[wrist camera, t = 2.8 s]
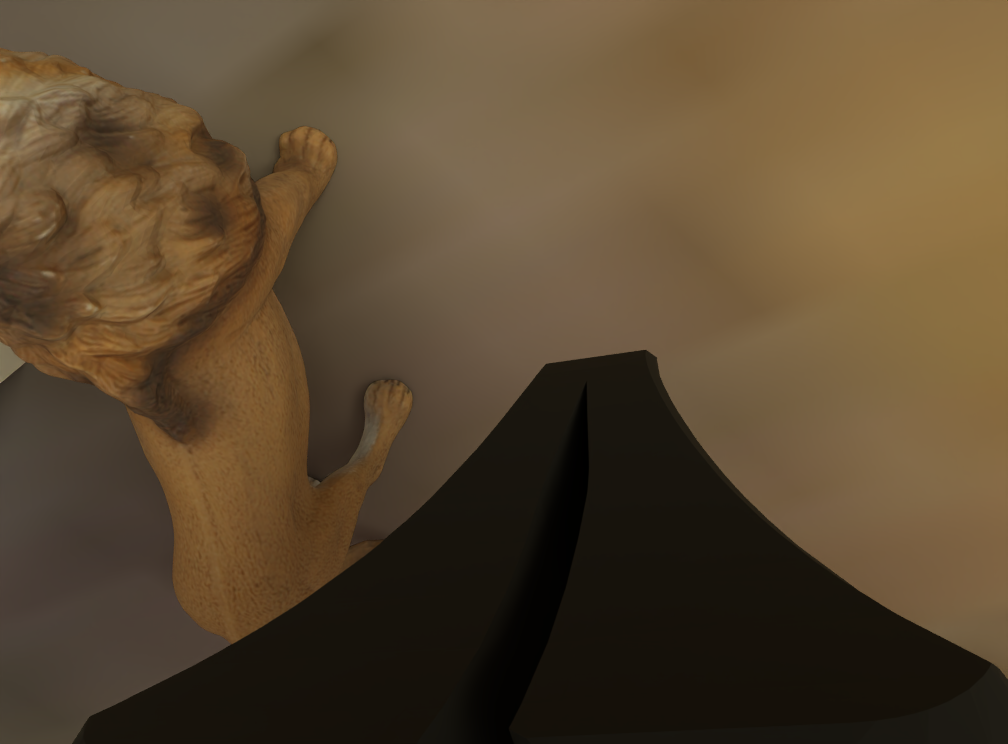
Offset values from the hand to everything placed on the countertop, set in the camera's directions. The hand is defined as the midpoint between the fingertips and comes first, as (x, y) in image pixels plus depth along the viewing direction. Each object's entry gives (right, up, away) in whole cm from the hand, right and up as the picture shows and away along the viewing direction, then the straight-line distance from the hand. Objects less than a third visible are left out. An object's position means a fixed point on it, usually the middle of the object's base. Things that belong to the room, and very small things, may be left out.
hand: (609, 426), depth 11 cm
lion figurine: (-7, +3, +10) cm, 12 cm away
